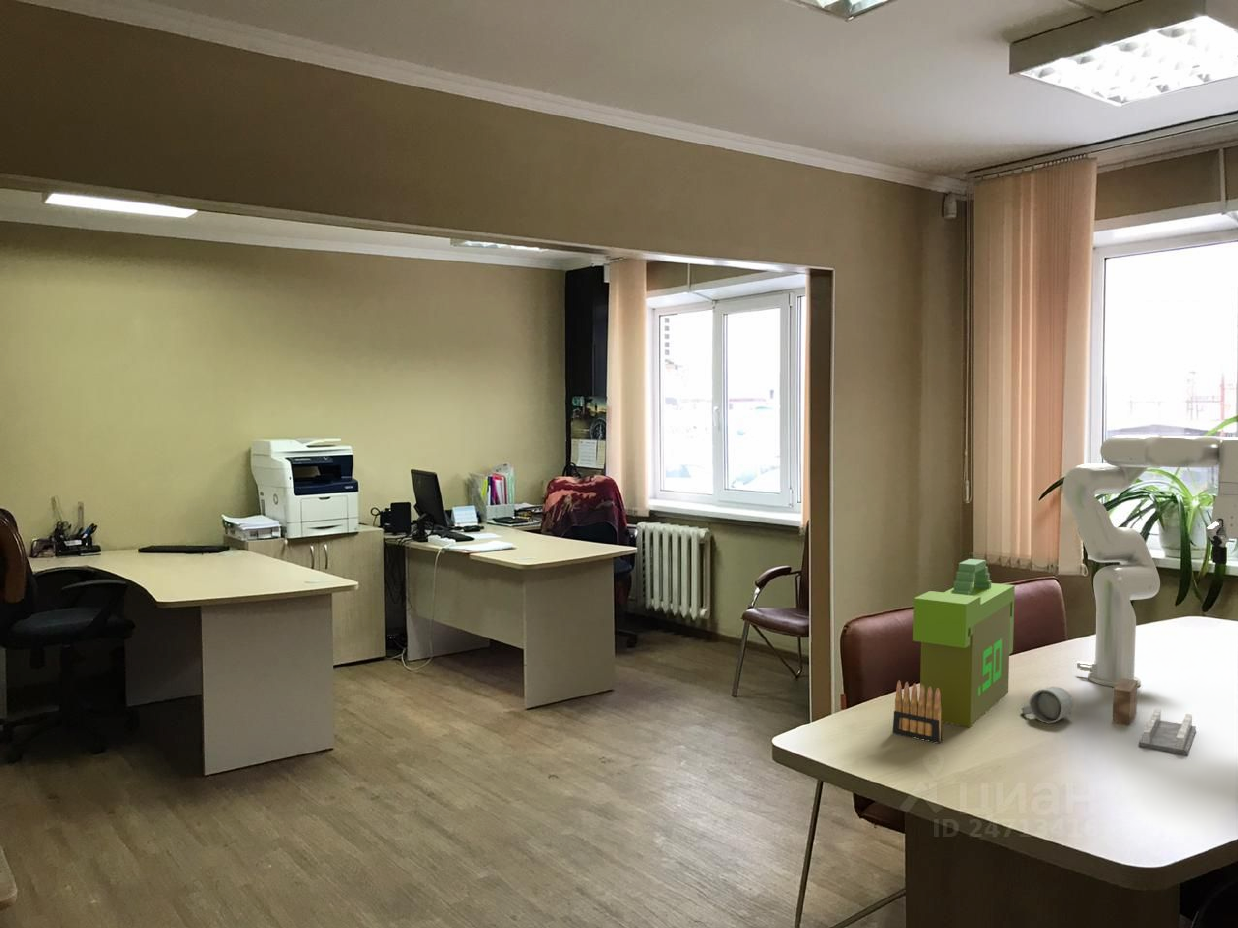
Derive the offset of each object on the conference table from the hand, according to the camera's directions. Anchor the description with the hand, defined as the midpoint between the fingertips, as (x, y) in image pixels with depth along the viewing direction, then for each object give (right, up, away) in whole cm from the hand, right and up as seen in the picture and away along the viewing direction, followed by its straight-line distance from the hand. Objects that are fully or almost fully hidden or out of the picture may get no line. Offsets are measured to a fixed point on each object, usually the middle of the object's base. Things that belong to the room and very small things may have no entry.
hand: (1233, 562), depth 223 cm
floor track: (-23, -38, -13) cm, 46 cm away
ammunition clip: (-79, -38, -14) cm, 89 cm away
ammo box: (-60, -37, +10) cm, 71 cm away
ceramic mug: (-44, -37, +1) cm, 58 cm away
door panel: (-25, -37, +2) cm, 45 cm away
